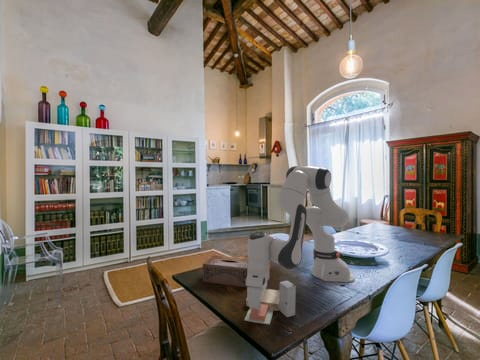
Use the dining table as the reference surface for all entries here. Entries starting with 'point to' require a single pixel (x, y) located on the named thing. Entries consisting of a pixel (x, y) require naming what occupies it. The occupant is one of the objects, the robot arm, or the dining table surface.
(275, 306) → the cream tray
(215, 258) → the tissue box cover
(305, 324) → the dining table surface
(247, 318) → the mat
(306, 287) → the dining table surface
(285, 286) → the skincare box
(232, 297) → the dining table surface
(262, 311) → the pink tray
